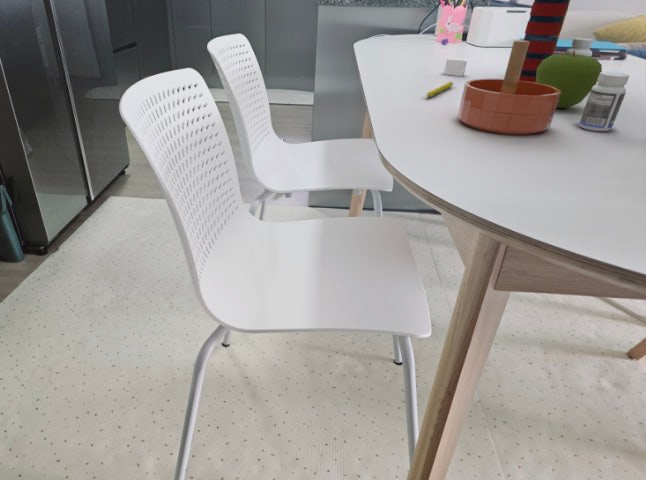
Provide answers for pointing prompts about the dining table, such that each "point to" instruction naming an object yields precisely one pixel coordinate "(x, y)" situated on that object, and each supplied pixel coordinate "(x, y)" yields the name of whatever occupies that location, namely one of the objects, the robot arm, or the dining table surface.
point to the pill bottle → (604, 101)
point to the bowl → (508, 106)
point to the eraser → (455, 67)
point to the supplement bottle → (581, 47)
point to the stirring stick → (514, 66)
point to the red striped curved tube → (542, 34)
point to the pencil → (439, 89)
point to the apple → (569, 76)
